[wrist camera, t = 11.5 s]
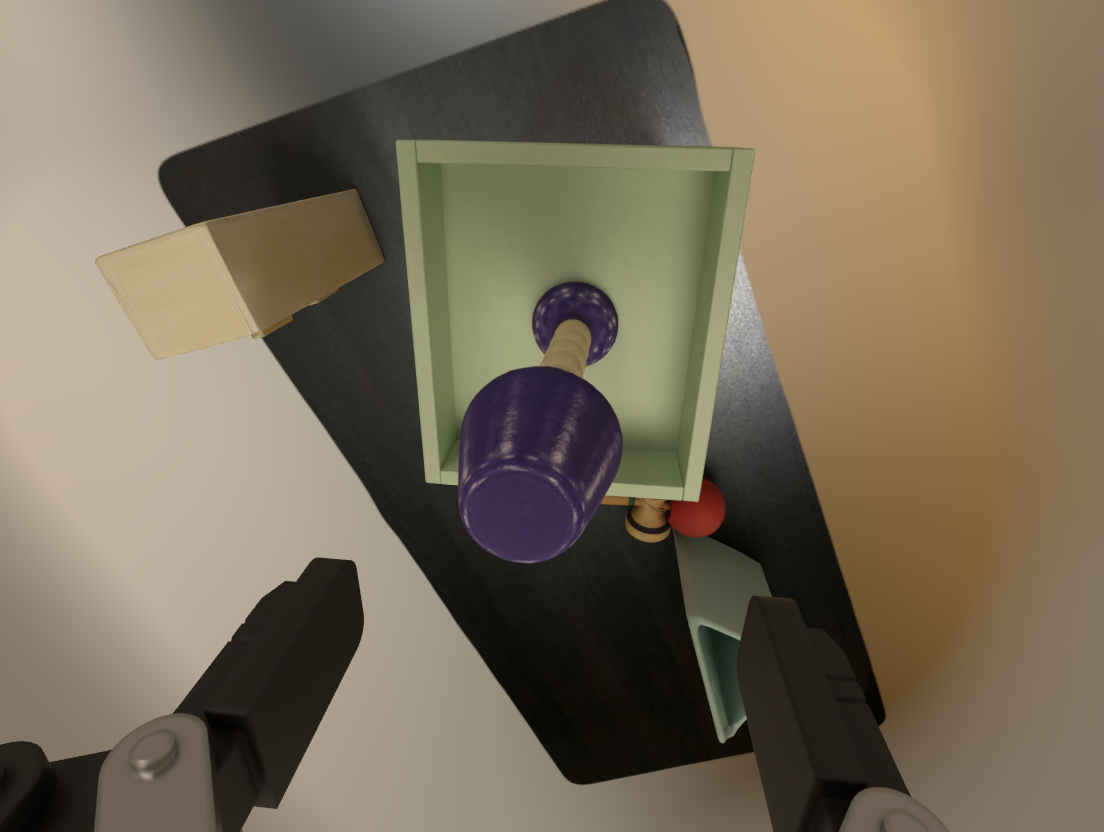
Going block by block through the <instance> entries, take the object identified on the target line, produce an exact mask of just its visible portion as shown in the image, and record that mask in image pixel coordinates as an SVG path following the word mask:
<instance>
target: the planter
mask: <svg viewBox="0 0 1104 832" xmlns="http://www.w3.org/2000/svg"><path fill="white" fill-rule="evenodd" d="M673 533H674V540H675V546H676V552H677V559H678V565H679V571H680V578H681V584H682V590H683V597H684V603H685V609H686V615H687V620H688V624H689V628H690V632H691V635H692V639H693V643H694V647H695V651H696V655H697V659H698V662H699V666H700V670H701V674H702V678H703V682H704V685H705V689H706V693H707V697H708V701H709V704H710V708H711V712H712V716H713V720H714V724H715V728H716V732H717V736H718V739H719V741H720V742H721V743H724V742H725V741H726V739H727V738H729V737H732V736H733V735H734V734H735V733H736V731H737V729H738V728H739V727H740V726H741V724H742V723H743V722H744V721H745V720H746V719H747V718H746V714H745V709H744V705H743V701H742V697H741V693H740V688H739V684H738V677H737V654H738V648H739V644H740V639H741V635H742V631H743V626H744V622H745V618H746V613H747V609H748V605H749V601H750V599H751V597H752V596H754V595H755V596H767V597H772V596H771V593H770V590H769V588H768V585H767V582H766V579H765V576H764V573H763V570H762V567H761V565H760V564H759V563H758V562H756V561H755V560H753V559H751V558H749V557H748V556H746V555H744V554H743V553H741V552H739V551H737V550H735V549H733V548H731V547H729V546H727V545H725V544H722V543H720V542H718V541H716V540H714V539H712V538H709V537H707V536H704V537H699V538H694V537H688V536H685V535H683V534H681V533H679V532H678V531H676V530H675V529H674V528H673Z"/></svg>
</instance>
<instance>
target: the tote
mask: <svg viewBox="0 0 1104 832" xmlns="http://www.w3.org/2000/svg"><path fill="white" fill-rule="evenodd" d="M396 152H397V163H398V174H399V185H400V197H401V208H402V219H403V230H404V242H405V253H406V264H407V275H408V287H409V298H410V309H411V320H412V332H413V343H414V354H415V365H416V377H417V388H418V399H419V410H420V422H421V433H422V444H423V455H424V467H425V478H426V482H427V483H437V484H440V483H442V484H449V485H458V464H459V443H460V433H461V426H462V422H463V418H464V415H465V412H466V410H467V408H468V406H469V404H470V402H471V401H472V400H473V398H474V397H475V395H476V394H477V393H478V392H479V391H480V390H481V389H482V388H483V387H484V386H485V385H486V384H488V383H489V382H490V381H492V380H493V379H495V378H496V377H498V376H500V375H502V374H504V373H507V372H508V371H510V370H514V369H519V368H524V367H532V366H540V364H541V362H542V361H543V358H544V353H543V352H542V351H541V350H540V348H539V347H538V345H537V343H536V341H535V338H534V335H533V330H532V318H533V313H534V310H535V307H536V306H537V303H538V301H539V300H540V298H541V297H542V296H543V295H544V294H545V293H546V292H547V291H548V290H550V289H551V288H553V287H555V286H557V285H560V284H562V283H567V282H584V283H588V284H590V285H593V286H595V287H597V288H598V289H600V290H602V291H603V292H604V293H605V294H606V295H607V296H608V297H609V298H610V300H611V301H612V303H613V305H614V307H615V309H616V312H617V314H618V334H617V337H616V340H615V343H614V345H613V346H612V348H611V350H610V351H609V352H608V353H607V354H606V355H605V356H604V357H603V358H602V359H601V360H599V361H597V362H596V363H594V364H592V365H589V366H586V368H585V371H584V373H583V379H585V380H586V381H588V382H589V383H590V384H592V385H593V386H594V387H595V388H596V389H597V390H598V391H600V392H601V393H602V394H603V396H604V397H605V398H606V399H607V400H608V402H609V403H610V405H611V406H612V408H613V410H614V412H615V414H616V416H617V418H618V420H619V424H620V427H621V432H622V436H623V447H622V458H621V462H620V466H619V469H618V472H617V475H616V477H615V479H614V481H613V483H612V484H611V486H610V488H609V490H608V491H607V493H606V495H608V496H622V497H637V498H651V499H665V500H680V501H681V500H682V499H683V501H695V502H698V501H699V497H700V491H701V485H702V479H703V472H704V466H705V460H706V454H707V447H708V441H709V435H710V429H711V423H712V416H713V410H714V404H715V398H716V391H717V385H718V379H719V373H720V367H721V360H722V354H723V348H724V342H725V335H726V329H727V323H728V317H729V311H730V304H731V298H732V292H733V286H734V279H735V273H736V267H737V261H738V255H739V248H740V242H741V236H742V230H743V222H744V217H745V210H746V205H747V198H748V192H749V186H750V180H751V174H752V167H753V161H754V154H755V149H751V148H750V149H749V148H737V147H705V146H664V145H623V144H582V143H541V142H500V141H459V140H397V141H396Z"/></svg>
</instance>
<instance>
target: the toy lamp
mask: <svg viewBox="0 0 1104 832" xmlns="http://www.w3.org/2000/svg"><path fill="white" fill-rule="evenodd" d="M532 330H533V335H534V338H535V341H536V343H537V345H538V347H539V348H540V350H541V351H542V352H543V353H544V358H543V361H542V362H541V364H540V366H532V367H524V368H519V369H514V370H510V371H508V372H507V373H504V374H502V375H500V376H498V377H496V378H495V379H493V380H492V381H490V382H489V383H488V384H486V385H485V386H484V387H483V388H482V389H481V390H480V391H479V392H478V393H477V394H476V395H475V397H474V398H473V400H472V401H471V402H470V404H469V406H468V408H467V410H466V412H465V415H464V418H463V422H462V426H461V433H460V443H459V464H458V504H459V510H460V514H461V518H462V521H463V523H464V525H465V527H466V529H467V531H468V533H469V534H470V536H471V537H472V538H473V539H474V540H475V542H477V543H478V544H479V545H480V546H481V547H482V548H483V549H485V550H486V551H488V552H489V553H491V554H493V555H495V556H497V557H499V558H501V559H504V560H508V561H512V562H518V563H535V562H542V561H545V560H548V559H551V558H553V557H556V556H558V555H559V554H561V553H562V552H564V551H565V550H566V549H568V548H569V547H570V546H572V545H573V543H574V542H575V541H576V540H577V539H578V538H579V536H580V535H581V534H582V533H583V531H584V529H585V528H586V526H587V525H588V523H589V521H590V520H591V518H592V516H593V515H594V513H595V512H596V510H597V509H598V507H599V505H600V503H601V502H602V500H603V498H604V496H605V495H606V493H607V491H608V490H609V488H610V486H611V484H612V483H613V481H614V479H615V477H616V475H617V472H618V469H619V466H620V462H621V458H622V447H623V436H622V432H621V427H620V424H619V420H618V418H617V416H616V414H615V412H614V410H613V408H612V406H611V405H610V403H609V402H608V400H607V399H606V398H605V397H604V396H603V394H602V393H601V392H600V391H598V390H597V389H596V388H595V387H594V386H593V385H592V384H590V383H589V382H588V381H586V380H585V379H583V373H584V371H585V368H586V366H589V365H592V364H594V363H596V362H597V361H599V360H601V359H602V358H603V357H604V356H605V355H606V354H607V353H608V352H609V351H610V350H611V348H612V346H613V345H614V343H615V340H616V337H617V334H618V314H617V312H616V309H615V307H614V305H613V303H612V301H611V300H610V298H609V297H608V296H607V295H606V294H605V293H604V292H603V291H602V290H600V289H598V288H597V287H595V286H593V285H590V284H588V283H584V282H567V283H562V284H560V285H557V286H555V287H553V288H551V289H550V290H548V291H547V292H546V293H545V294H544V295H543V296H542V297H541V298H540V300H539V301H538V303H537V306H536V307H535V310H534V313H533V318H532Z"/></svg>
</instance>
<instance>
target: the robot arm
mask: <svg viewBox="0 0 1104 832" xmlns="http://www.w3.org/2000/svg"><path fill="white" fill-rule="evenodd" d="M363 626H364V613H363V607H362V600H361V594H360V588H359V581H358V574H357V568H356V565H355V563H354V562H353V561H352V560H341V559H329V558H315V559H313V560H312V561H311V562H310V563H309V565H308V566H307V567H306V569H305V570H304V572H303V573H302V574H301V576H300V577H299V578H298V580H297V581H296V582H291V581H285V582H283V583H282V584H281V585H279V586H278V587H276V588H275V589H274V590H272V591H271V592H270V593H268V594H267V595H265V596H264V597H263V598H261V600H260V601H259V602H258V604H257V605H256V606H255V608H254V609H253V610H252V611H251V613H250V614H249V615H248V617H247V618H246V620H245V623H244V624H242V625H241V626H240V627H239V628H238V630H237V631H236V632H235V634H234V635H233V636H232V640H231V642H228V643H227V644H226V645H225V647H224V648H223V649H222V651H221V652H220V653H219V654H218V656H217V657H216V658H215V660H214V661H213V662H212V664H211V665H210V666H209V667H208V669H207V670H206V671H205V673H204V674H203V675H202V677H201V678H200V679H199V680H198V682H197V683H196V684H195V686H194V687H193V688H192V690H191V691H190V692H189V694H188V695H187V696H186V698H185V699H184V700H183V701H182V703H181V704H180V705H179V706H178V708H177V709H176V710H175V711H174V712H173V714H170V715H165V716H162V717H159V718H156V719H153V720H151V721H149V722H147V723H145V724H143V725H141V726H139V727H138V728H136V729H135V730H133V731H132V732H131V733H129V734H128V735H127V736H125V737H124V738H123V739H122V740H121V741H120V742H119V743H118V744H117V745H116V746H115V747H114V748H113V749H112V750H109V751H104V752H99V753H95V754H89V755H84V756H79V757H74V758H69V759H64V760H59V761H54V762H49V761H48V759H47V757H46V756H45V754H44V752H43V750H42V749H41V747H39V746H38V745H37V744H34V743H32V742H25V741H19V742H11V743H6V744H2V745H0V832H243V831H242V827H243V825H244V823H245V821H246V819H247V817H248V816H249V814H250V812H251V810H252V808H253V806H256V807H265V808H273V809H277V808H278V806H279V804H280V802H281V800H282V798H283V796H284V794H285V792H286V790H287V788H288V786H289V784H290V782H291V780H292V777H293V776H294V774H295V772H296V770H297V768H298V766H299V764H300V762H301V760H302V758H303V756H304V754H305V752H306V750H307V748H308V746H309V744H310V742H311V740H312V738H313V736H314V734H315V732H316V730H317V728H318V726H319V724H320V722H321V720H322V718H323V716H324V714H325V712H326V710H327V708H328V706H329V704H330V702H331V700H332V698H333V696H334V694H335V692H336V690H337V688H338V686H339V684H340V682H341V680H342V678H343V676H344V674H345V672H346V670H347V668H348V666H349V664H350V662H351V660H352V658H353V656H354V654H355V652H356V650H357V648H358V646H359V643H360V640H361V637H362V633H363ZM737 677H738V684H739V688H740V693H741V697H742V701H743V705H744V709H745V714H746V718H747V722H748V726H749V731H750V735H751V739H752V743H753V747H754V752H755V756H756V760H757V764H758V768H759V773H760V777H761V781H762V785H763V790H764V794H765V798H766V802H767V806H768V810H769V814H770V819H771V823H772V827H773V832H949V830H948V829H947V828H946V827H945V825H944V824H943V823H942V822H941V821H940V820H939V819H938V817H937V816H936V815H935V814H934V813H932V812H931V811H930V810H929V809H928V808H927V807H925V806H924V805H923V804H921V803H920V802H918V801H917V800H915V799H913V798H912V797H911V795H910V793H909V791H908V790H907V788H906V786H905V784H904V781H903V779H902V777H901V775H900V773H899V771H898V768H897V766H896V764H895V762H894V760H893V757H892V755H891V753H890V751H889V749H888V747H887V744H886V742H885V740H884V738H883V736H882V733H881V731H880V729H879V727H878V725H877V723H876V720H875V718H874V716H873V714H872V712H871V710H870V707H869V705H866V699H865V696H864V694H863V692H862V690H861V688H860V686H859V683H856V677H855V675H854V673H853V670H852V668H851V666H850V664H849V662H848V660H847V657H846V655H845V653H844V652H843V650H842V649H841V648H840V647H839V646H838V645H837V644H836V643H835V642H834V641H833V640H832V639H831V638H830V637H829V635H828V634H827V633H826V632H825V631H824V630H823V629H814V628H806V626H805V623H804V621H803V618H802V616H801V613H800V611H799V608H798V606H797V604H796V602H795V601H794V600H793V599H790V598H779V597H767V596H755V595H754V596H752V597H751V599H750V601H749V605H748V609H747V613H746V618H745V622H744V626H743V631H742V635H741V639H740V644H739V648H738V654H737Z"/></svg>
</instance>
